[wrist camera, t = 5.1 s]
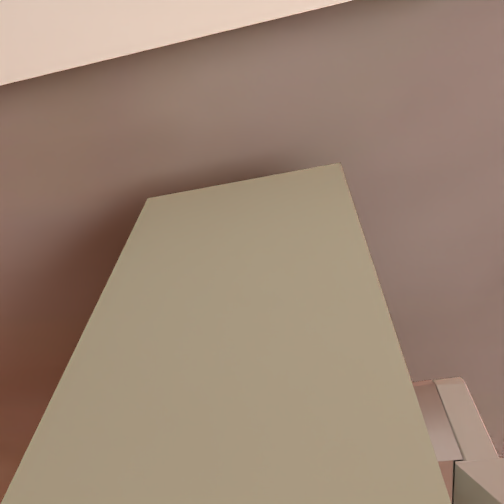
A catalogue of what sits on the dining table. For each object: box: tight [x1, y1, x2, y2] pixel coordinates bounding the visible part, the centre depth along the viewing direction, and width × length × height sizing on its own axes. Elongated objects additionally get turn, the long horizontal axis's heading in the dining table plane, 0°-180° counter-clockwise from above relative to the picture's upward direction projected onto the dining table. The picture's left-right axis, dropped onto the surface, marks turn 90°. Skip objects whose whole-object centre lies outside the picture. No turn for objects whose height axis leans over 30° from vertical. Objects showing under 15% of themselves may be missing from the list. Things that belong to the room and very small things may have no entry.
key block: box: [1, 163, 451, 504], centre depth 9 cm, size 4×8×7 cm, turn 12°
